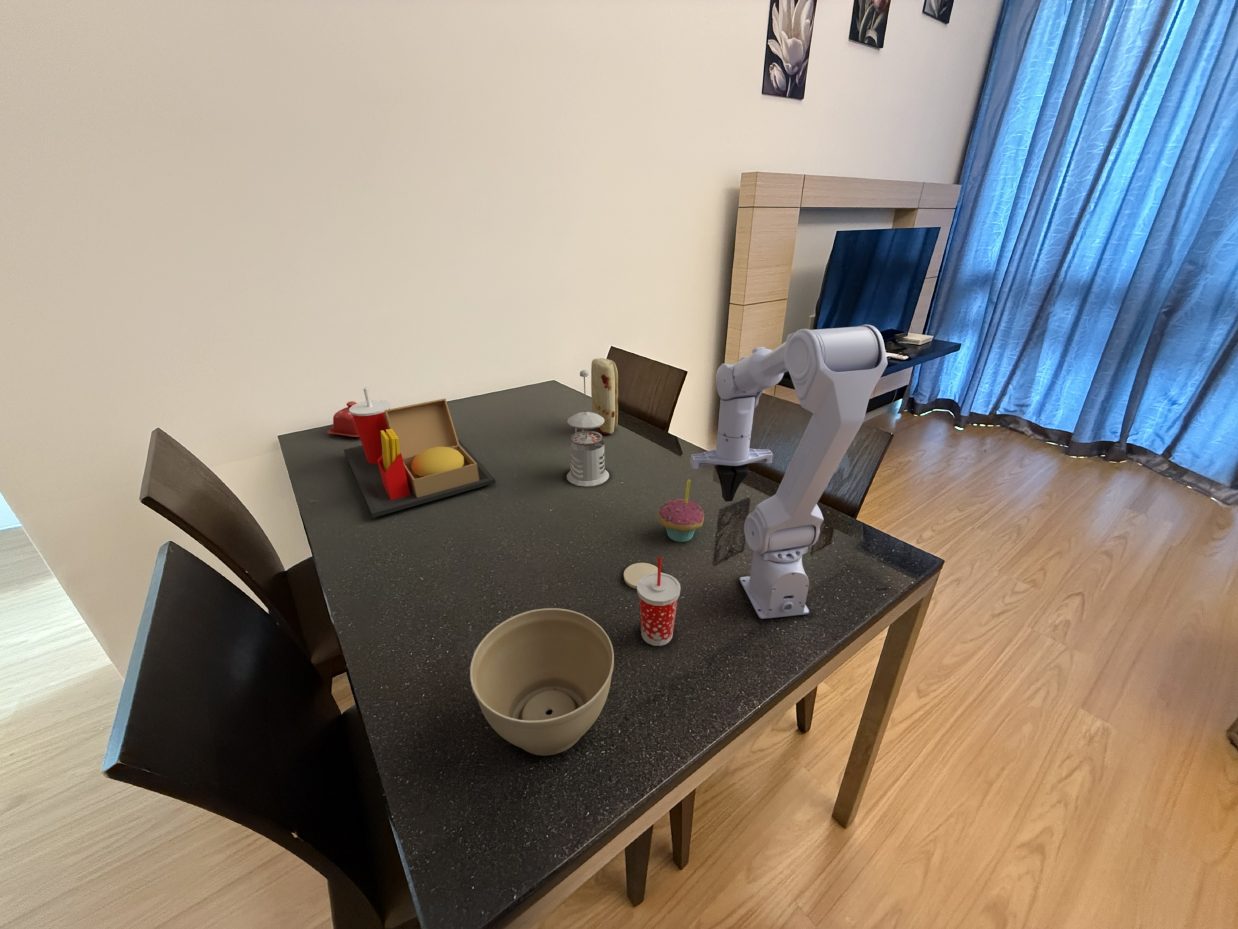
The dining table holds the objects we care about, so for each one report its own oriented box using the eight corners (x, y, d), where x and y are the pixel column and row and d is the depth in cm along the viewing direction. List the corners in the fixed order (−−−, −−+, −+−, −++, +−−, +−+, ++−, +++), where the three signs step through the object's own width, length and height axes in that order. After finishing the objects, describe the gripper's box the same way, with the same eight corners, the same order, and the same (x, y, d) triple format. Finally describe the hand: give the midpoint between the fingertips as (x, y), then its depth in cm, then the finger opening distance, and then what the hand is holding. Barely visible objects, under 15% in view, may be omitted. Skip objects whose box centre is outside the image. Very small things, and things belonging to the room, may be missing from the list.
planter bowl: (464, 703, 67) (451, 640, 62) (576, 651, 75) (573, 591, 70) (511, 816, 55) (500, 749, 50) (639, 740, 62) (641, 675, 57)
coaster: (665, 587, 86) (665, 585, 86) (626, 591, 86) (626, 588, 85) (657, 563, 92) (657, 561, 92) (621, 567, 91) (621, 564, 91)
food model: (587, 426, 146) (584, 355, 137) (609, 422, 149) (608, 352, 140) (600, 439, 138) (598, 365, 129) (623, 435, 141) (623, 362, 132)
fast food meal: (374, 522, 104) (351, 436, 96) (345, 456, 130) (326, 385, 122) (496, 486, 117) (486, 408, 108) (447, 433, 143) (436, 366, 134)
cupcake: (674, 517, 105) (677, 464, 100) (711, 533, 100) (716, 478, 95) (649, 537, 99) (650, 481, 94) (687, 554, 94) (691, 497, 89)
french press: (572, 489, 115) (566, 379, 104) (560, 466, 125) (554, 363, 114) (614, 482, 118) (613, 374, 107) (600, 460, 128) (597, 359, 116)
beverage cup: (663, 656, 74) (666, 577, 67) (627, 637, 77) (628, 560, 71) (685, 631, 78) (691, 554, 72) (651, 613, 81) (653, 538, 75)
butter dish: (356, 421, 151) (349, 392, 147) (389, 425, 148) (383, 397, 144) (325, 436, 141) (316, 407, 137) (360, 442, 138) (352, 411, 134)
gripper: (765, 420, 96) (756, 485, 102) (687, 424, 94) (683, 490, 100) (781, 436, 89) (771, 504, 96) (698, 441, 88) (693, 510, 94)
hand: (727, 498), depth 97 cm, fingers closed
